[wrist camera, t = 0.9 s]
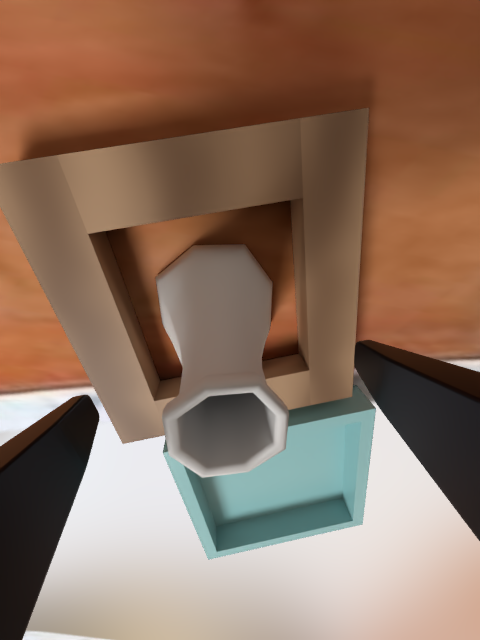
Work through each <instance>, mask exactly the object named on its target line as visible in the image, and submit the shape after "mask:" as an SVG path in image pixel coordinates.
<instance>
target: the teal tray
mask: <svg viewBox="0 0 480 640" xmlns="http://www.w3.org/2000/svg"><path fill="white" fill-rule="evenodd" d="M288 411H289V420H288V431H287V441H286V449H285V450H283V451H282V452H280V453H278V454H277V455H275V456H274V457H272V458H270V459H269V460H267V461H265V462H264V463H262V464H261V465H259V466H257V467H256V468H254V469H252V470H251V471H249V472H245V473H237V474H228V475H220V476H212V477H204V478H202V477H201V476H199V475H198V474H196V473H195V472H193V471H192V470H190V469H189V468H187V467H186V466H184V465H183V464H181V463H180V462H178V461H177V460H175V459H174V458H172V457H171V456H169V453H168V448H167V443H166V440H165V445H164V450H163V454H164V457H165V459H166V461H167V464H168V466H169V468H170V471H171V473H172V475H173V478H174V480H175V482H176V485H177V487H178V489H179V492H180V494H181V496H182V499H183V501H184V504H185V506H186V508H187V511H188V513H189V515H190V518H191V520H192V522H193V525H194V527H195V529H196V532H197V534H198V536H199V539H200V541H201V543H202V546H203V548H204V551H205V553H206V555H207V558H208V559H213V558H218V557H221V556H226V555H231V554H235V553H239V552H244V551H248V550H252V549H257V548H261V547H266V546H270V545H274V544H278V543H283V542H287V541H292V540H296V539H300V538H304V537H309V536H314V535H317V534H322V533H327V532H331V531H335V530H340V529H344V528H348V527H353V526H357V525H362V523H363V515H364V507H365V498H366V489H367V480H368V471H369V464H370V454H371V446H372V438H373V429H374V421H375V412H376V408H375V407H374V406H373V404H372V403H371V402H370V401H369V400H368V399H367V397H366V396H365V395H364V394H363V393H362V391H361V390H360V389H359V388H358V387H357V386H356V385H355V386H353V391H352V397H349V398H344V399H339V400H334V401H329V402H324V403H320V404H315V405H310V406H305V407H300V408H295V409H290V410H288Z"/></svg>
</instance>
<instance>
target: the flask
mask: <svg viewBox="0 0 480 640" xmlns="http://www.w3.org/2000/svg"><path fill="white" fill-rule="evenodd" d="M155 279H156V285H157V292H158V298H159V305H160V311H161V318H162V323H163V326H164V328H165V330H166V332H167V334H168V335H169V337H170V339H171V341H172V343H173V345H174V348H175V350H176V352H177V355H178V357H179V359H180V362H181V364H182V367H183V371H182V378H181V385H180V392H179V395H178V396H177V397H176V398H174V399H173V400H171V401H170V402H169V403H167V404H166V406H165V408H164V409H163V413H162V421H163V427H164V432H165V437H166V443H167V448H168V453H169V456H171V457H172V458H174V459H175V460H177V461H178V462H180V463H181V464H183V465H184V466H186V467H187V468H189V469H190V470H192V471H193V472H195V473H196V474H198V475H199V476H201V477H202V478H204V477H212V476H220V475H228V474H237V473H245V472H249V471H251V470H252V469H254V468H256V467H257V466H259V465H261V464H262V463H264V462H265V461H267V460H269V459H270V458H272V457H274V456H275V455H277V454H278V453H280V452H282V451H283V450H285V449H286V441H287V431H288V420H289V411H288V408H287V406H286V405H285V404H284V402H283V401H282V400H281V399H280V398H279V397H278V396H277V395H276V393H275V392H274V391H273V390H272V389H271V388H270V387H269V386H268V385H267V382H266V379H265V376H264V373H263V369H262V355H263V350H264V346H265V342H266V339H267V336H268V333H269V330H270V326H271V307H272V286H273V282H272V281H271V280H270V278H269V277H268V275H267V274H266V273H265V271H264V270H263V269H262V267H261V266H260V264H259V263H258V262H257V260H256V259H255V258H254V256H253V255H252V253H251V252H250V251H249V249H248V248H247V247H246V245H245V244H226V245H193V246H192V247H191V248H189V249H188V250H187V251H186V252H185V253H184V254H182V255H181V256H180V257H179V258H178V259H177V260H175V261H174V262H173V263H172V264H171V265H169V266H168V267H167V268H166V269H165V270H164V271H162V272H161V273H160V274H159V275H158V276H156V277H155Z"/></svg>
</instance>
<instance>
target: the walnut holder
mask: <svg viewBox="0 0 480 640" xmlns="http://www.w3.org/2000/svg"><path fill="white" fill-rule="evenodd" d="M368 121H369V108H363V109H357V110H350V111H344V112H337V113H331V114H324V115H317V116H311V117H304V118H298V119H291V120H285V121H278V122H271V123H265V124H258V125H252V126H245V127H239V128H232V129H225V130H219V131H212V132H206V133H199V134H193V135H186V136H180V137H173V138H166V139H160V140H153V141H147V142H140V143H134V144H127V145H120V146H114V147H107V148H101V149H94V150H88V151H81V152H74V153H68V154H61V155H55V156H48V157H42V158H35V159H28V160H22V161H15V162H9V163H2V164H0V207H1V209H2V211H3V213H4V215H5V217H6V219H7V221H8V223H9V225H10V227H11V229H12V231H13V233H14V234H15V236H16V238H17V240H18V242H19V244H20V246H21V248H22V250H23V252H24V254H25V256H26V258H27V260H28V262H29V263H30V265H31V267H32V269H33V271H34V273H35V275H36V277H37V279H38V281H39V283H40V285H41V287H42V289H43V290H44V292H45V294H46V296H47V298H48V300H49V302H50V304H51V306H52V308H53V310H54V312H55V314H56V316H57V318H58V319H59V321H60V323H61V325H62V327H63V329H64V331H65V333H66V335H67V337H68V339H69V341H70V343H71V345H72V346H73V348H74V350H75V352H76V354H77V356H78V358H79V360H80V362H81V364H82V366H83V368H84V370H85V372H86V374H87V375H88V377H89V379H90V381H91V383H92V385H93V387H94V389H95V391H96V393H97V395H98V397H99V399H100V401H101V402H102V404H103V406H104V408H105V410H106V412H107V414H108V416H109V418H110V420H111V422H112V424H113V426H114V427H115V430H116V431H117V433H118V435H119V437H120V439H121V441H122V443H123V444H124V443H129V442H134V441H139V440H144V439H148V438H154V437H159V436H163V435H165V432H164V427H163V421H162V413H163V409H164V408H165V406H166V404H167V403H169V402H170V401H171V400H173V399H174V398H176V397H177V396H178V395H179V392H180V385H181V378H182V377H178V378H173V379H168V380H162V381H160V379H159V377H158V374H157V371H156V368H155V366H154V363H153V360H152V357H151V355H150V352H149V349H148V346H147V344H146V341H145V338H144V335H143V333H142V330H141V327H140V324H139V322H138V319H137V316H136V313H135V311H134V308H133V305H132V303H131V300H130V297H129V294H128V292H127V289H126V286H125V283H124V281H123V278H122V275H121V272H120V270H119V267H118V264H117V261H116V259H115V256H114V253H113V250H112V248H111V245H110V242H109V239H108V237H107V234H106V231H108V230H114V229H120V228H126V227H132V226H138V225H144V224H150V223H156V222H162V221H168V220H174V219H180V218H186V217H192V216H198V215H204V214H210V213H216V212H222V211H228V210H234V209H240V208H246V207H252V206H258V205H264V204H270V203H276V202H282V201H287V200H290V206H291V224H292V242H293V259H294V277H295V295H296V312H297V330H298V348H299V354H296V355H290V356H285V357H280V358H275V359H270V360H265V361H262V369H263V373H264V376H265V379H266V382H267V385H268V386H269V387H270V388H271V389H272V390H273V391H274V392H275V393H276V395H277V396H278V397H279V398H280V399H281V400H282V401H283V402H284V404H285V405H286V406H287V408H288V410H290V409H295V408H300V407H305V406H310V405H315V404H320V403H324V402H329V401H334V400H339V399H344V398H349V397H352V391H353V374H354V353H355V340H356V323H357V306H358V289H359V273H360V256H361V239H362V222H363V205H364V188H365V171H366V154H367V137H368Z"/></svg>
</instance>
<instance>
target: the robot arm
mask: <svg viewBox="0 0 480 640" xmlns="http://www.w3.org/2000/svg"><path fill="white" fill-rule="evenodd" d="M354 365H355V368H356V370H357V372H358V373H359V375H360V377H361V378H362V380H363V382H364V383H365V385H366V387H367V388H368V390H369V392H370V393H371V395H372V397H373V398H374V400H375V402H376V403H377V405H378V406H379V408H380V409H381V410H382V412H383V413H384V415H385V416H386V417H387V419H388V420H389V421H390V423H391V424H392V425H393V427H394V428H395V429H396V431H397V432H398V433H399V435H400V436H401V437H402V439H403V440H404V441H405V442H406V444H407V445H408V447H409V448H410V449H411V451H412V452H413V453H414V455H415V456H416V457H417V459H418V460H419V461H420V462H421V464H422V465H423V466H424V468H425V469H426V471H427V472H428V473H429V475H430V476H431V477H432V479H433V480H434V481H435V483H436V484H437V485H438V486H439V488H440V489H441V490H442V492H443V493H444V494H445V496H446V497H447V498H448V500H449V501H450V502H451V504H452V505H453V506H454V508H455V509H456V510H457V512H458V513H459V514H460V515H461V517H462V518H463V520H464V521H465V522H466V523H467V525H468V526H469V528H470V529H471V530H472V532H473V533H474V534H475V536H476V537H477V538H478V539H479V541H480V372H477V371H474V370H470V369H467V368H464V367H460V366H457V365H453V364H450V363H447V362H443V361H440V360H436V359H433V358H429V357H426V356H423V355H419V354H416V353H412V352H409V351H406V350H402V349H399V348H395V347H392V346H389V345H385V344H382V343H378V342H375V341H372V340H364V341H359V342H357V343H356V344H355V353H354ZM98 422H99V413H98V411H97V409H96V407H95V405H94V403H93V401H92V400H91V398H90V396H88V395H81V396H75V397H72V398H71V399H69V400H68V401H66V402H65V403H63V404H62V405H61V406H59V407H58V408H56V409H55V410H53V411H52V412H50V413H49V414H47V415H46V416H44V417H43V418H41V419H40V420H38V421H37V422H36V423H34V424H33V425H31V426H30V427H28V428H27V429H25V430H24V431H22V432H21V433H19V434H18V435H17V436H15V437H14V438H12V439H10V440H9V441H8V442H6V443H5V444H3V445H2V446H0V640H22V639H23V636H24V634H25V631H26V628H27V626H28V623H29V620H30V617H31V614H32V612H33V609H34V607H35V604H36V601H37V599H38V596H39V593H40V591H41V588H42V585H43V583H44V580H45V577H46V575H47V572H48V569H49V567H50V564H51V561H52V558H53V556H54V553H55V551H56V548H57V545H58V542H59V540H60V537H61V534H62V532H63V529H64V526H65V523H66V521H67V518H68V516H69V513H70V510H71V507H72V505H73V502H74V499H75V497H76V494H77V491H78V489H79V486H80V483H81V481H82V478H83V475H84V472H85V470H86V466H87V463H88V460H89V456H90V452H91V449H92V445H93V441H94V437H95V434H96V430H97V426H98Z"/></svg>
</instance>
